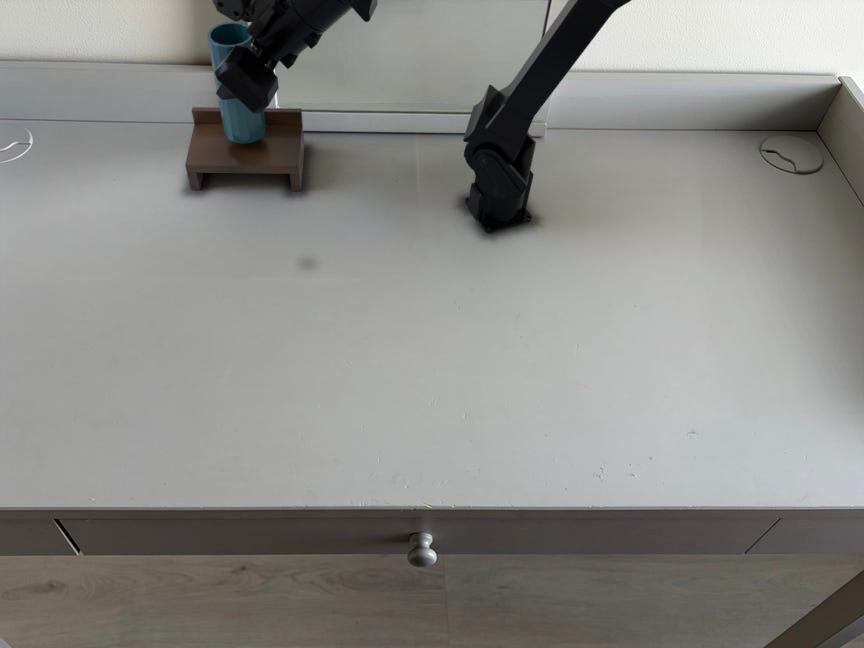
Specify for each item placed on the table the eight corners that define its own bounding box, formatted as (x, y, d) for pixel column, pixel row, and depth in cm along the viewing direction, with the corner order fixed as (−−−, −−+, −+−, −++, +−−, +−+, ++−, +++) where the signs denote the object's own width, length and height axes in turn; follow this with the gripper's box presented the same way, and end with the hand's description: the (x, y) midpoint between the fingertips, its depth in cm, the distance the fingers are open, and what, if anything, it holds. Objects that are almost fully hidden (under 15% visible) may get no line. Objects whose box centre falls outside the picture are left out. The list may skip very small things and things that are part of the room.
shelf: (304, 146, 105) (301, 108, 100) (300, 191, 99) (297, 153, 95) (200, 145, 104) (192, 106, 100) (190, 190, 99) (181, 151, 94)
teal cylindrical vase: (273, 135, 97) (261, 38, 87) (235, 148, 96) (218, 51, 85) (255, 113, 100) (241, 17, 90) (217, 125, 98) (199, 29, 88)
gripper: (282, -96, 84) (204, -10, 95) (219, -11, 73) (138, 76, 84) (354, -14, 89) (272, 59, 100) (304, 77, 79) (219, 148, 89)
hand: (227, 82), depth 93 cm, fingers closed on teal cylindrical vase, 5 cm apart
